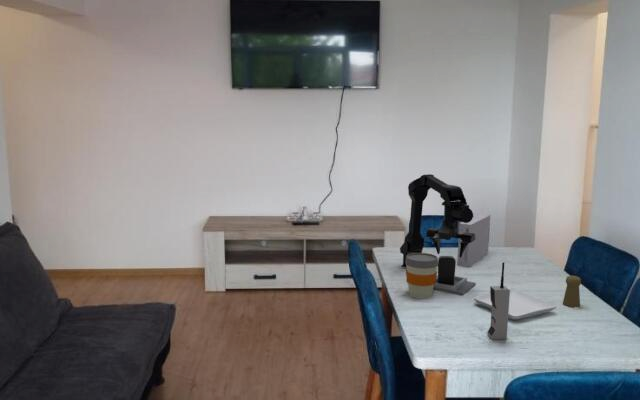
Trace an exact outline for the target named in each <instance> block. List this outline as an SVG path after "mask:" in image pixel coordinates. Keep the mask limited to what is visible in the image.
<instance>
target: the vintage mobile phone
mask: <svg viewBox="0 0 640 400" xmlns="http://www.w3.org/2000/svg"><path fill="white" fill-rule="evenodd" d="M504 273H505V262H502V267H501V276H500V285H491V286H489V287H490V288H489V290H490V292H489V294H490V296H491V302H492V310H491V312H490V314H491V317H490V326H489V328H488V330H487V333H486V335H487V336H488V337H489V339H490V340H491V341H501V340H502V341H503V340H507V339H508V327H509V326H508V325H509V324H508V323H509V317H508V312H509V297H510V290H509V289H510V288H508V287H506V286H505V285H504V279H505V276H504Z"/></svg>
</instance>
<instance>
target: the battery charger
mask: <svg viewBox="0 0 640 400" xmlns="http://www.w3.org/2000/svg"><path fill="white" fill-rule="evenodd" d="M456 263H457V262H456V258H455V257H454V256H452V255H439V256H438V266H437V276H438V283H439V284H454V278H455V276H456V265H457V264H456Z"/></svg>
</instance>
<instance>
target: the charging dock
mask: <svg viewBox="0 0 640 400" xmlns="http://www.w3.org/2000/svg"><path fill="white" fill-rule="evenodd" d="M475 286H476V282H473V281H468V277H463V276H457V275H455V278H454V284H439V283H438V275H437V276H436V282H435V284H434V287H433V291H438V292H439V291H440V292H442V293H443V292H444V293H449V294H454V295H459V296H465V295H466V294H467V293H469V291H470V290H472V288H474V287H475Z"/></svg>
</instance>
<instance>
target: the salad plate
mask: <svg viewBox="0 0 640 400" xmlns="http://www.w3.org/2000/svg"><path fill="white" fill-rule="evenodd" d="M508 289H509V290H510V297H509V312H508V319H511V320H520V319H524V318H528V317H529V318H530V317H533V316H537V315H540V314H544V313H548V312H552V311H553V310H555V309H556V308H557V305H556V304H553V303H551V302H549V301H547V300H544V299H541V298H539V297H538V296H537V297H536V296H534V295H532V294H529V293H526V292H523V291H522V290H518V289H516V288H508ZM472 298H473V300H474V301H475V303H477V304H479V305H481V306H482V307H486V308H487V309H490V310H491V311H492V302H491V296H490V293H486V294H481V295H477V296H474V297H472Z"/></svg>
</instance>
